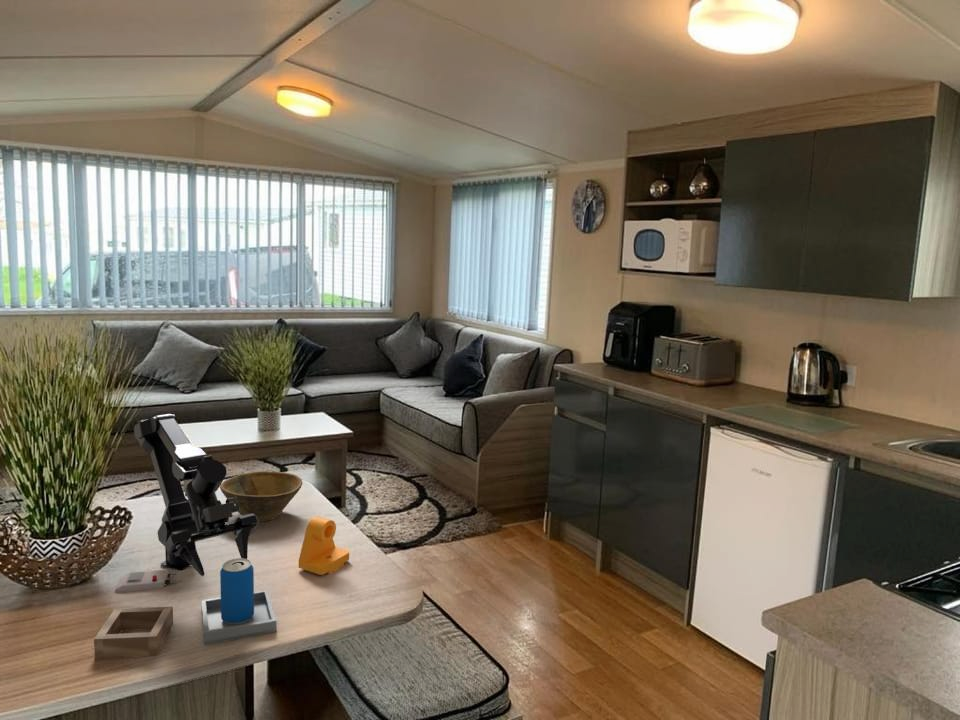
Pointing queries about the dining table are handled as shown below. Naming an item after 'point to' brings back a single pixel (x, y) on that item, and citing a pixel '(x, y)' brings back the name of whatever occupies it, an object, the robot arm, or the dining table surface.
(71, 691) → the dining table surface
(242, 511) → the bowl
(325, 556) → the bracket
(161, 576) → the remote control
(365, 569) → the dining table surface
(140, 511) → the dining table surface
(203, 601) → the tray
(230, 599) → the beverage can
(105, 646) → the socket block
